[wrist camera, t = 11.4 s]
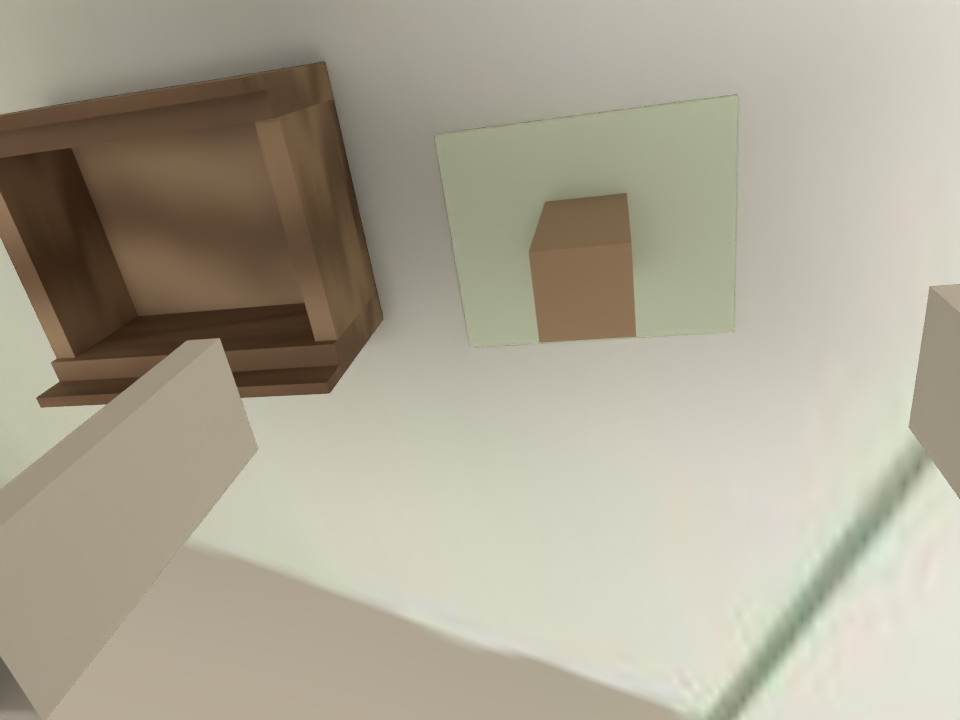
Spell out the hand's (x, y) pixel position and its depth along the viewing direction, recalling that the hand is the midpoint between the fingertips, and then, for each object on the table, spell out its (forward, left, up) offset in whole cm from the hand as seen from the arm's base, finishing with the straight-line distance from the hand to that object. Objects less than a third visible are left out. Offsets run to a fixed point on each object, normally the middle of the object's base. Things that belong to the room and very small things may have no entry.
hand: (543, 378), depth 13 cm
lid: (+3, 0, -19) cm, 19 cm away
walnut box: (0, -17, -19) cm, 25 cm away
